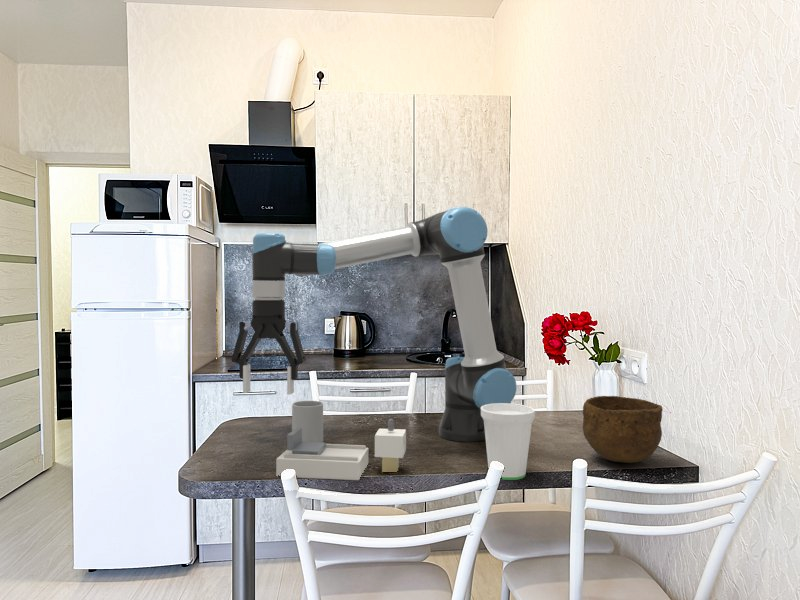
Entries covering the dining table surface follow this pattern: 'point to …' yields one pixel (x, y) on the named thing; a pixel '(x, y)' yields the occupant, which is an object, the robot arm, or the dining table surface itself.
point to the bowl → (622, 427)
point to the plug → (390, 446)
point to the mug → (308, 420)
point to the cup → (508, 436)
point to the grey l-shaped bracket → (303, 444)
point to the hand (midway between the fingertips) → (268, 392)
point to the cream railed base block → (327, 462)
